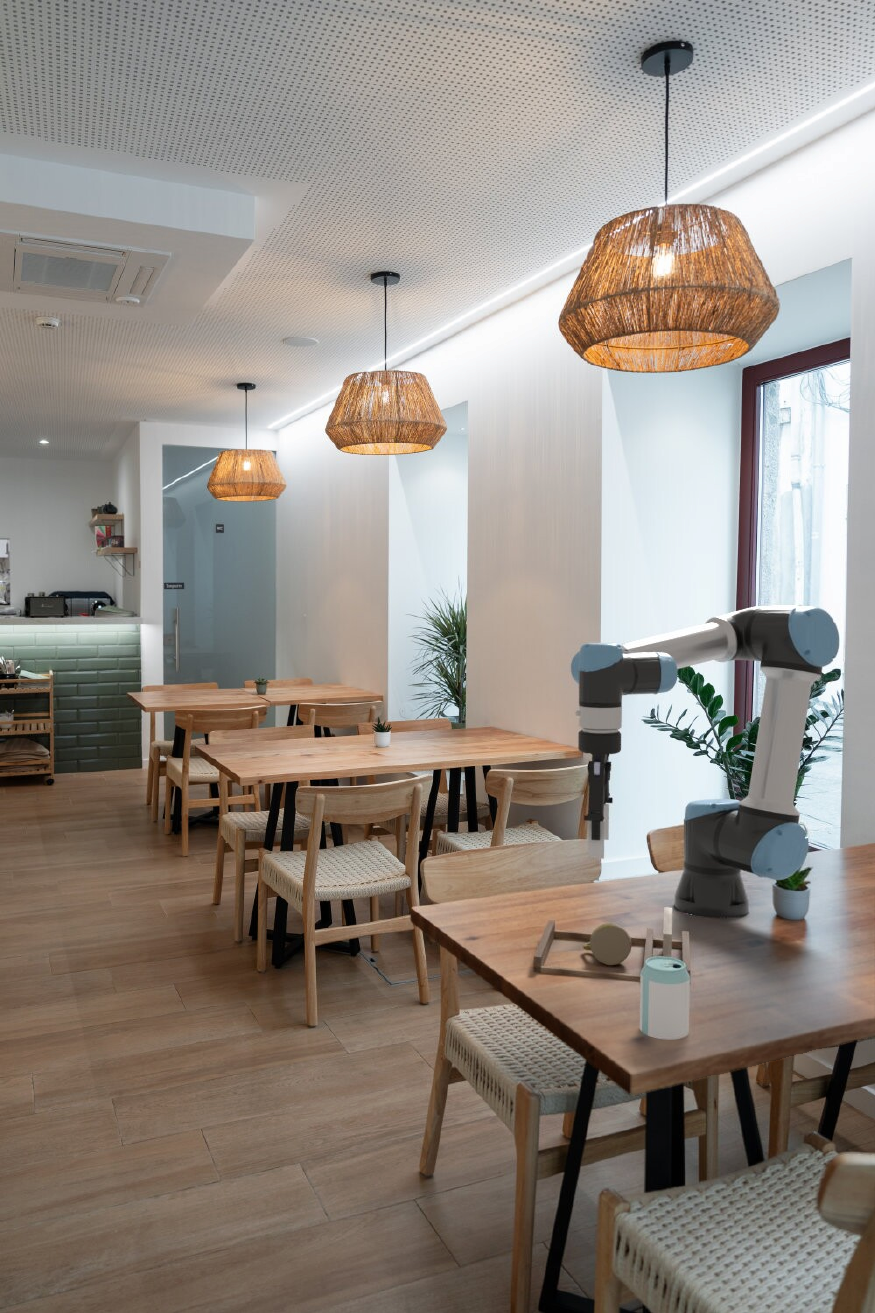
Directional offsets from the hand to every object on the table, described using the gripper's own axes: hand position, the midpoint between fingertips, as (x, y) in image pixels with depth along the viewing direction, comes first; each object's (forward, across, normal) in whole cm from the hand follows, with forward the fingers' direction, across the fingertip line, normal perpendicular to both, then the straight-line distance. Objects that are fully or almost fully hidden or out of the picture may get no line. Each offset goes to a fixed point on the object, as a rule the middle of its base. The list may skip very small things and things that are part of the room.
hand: (598, 848), depth 176 cm
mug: (+21, -1, 0) cm, 21 cm away
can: (+21, +31, +12) cm, 39 cm away
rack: (+21, +1, +3) cm, 21 cm away
